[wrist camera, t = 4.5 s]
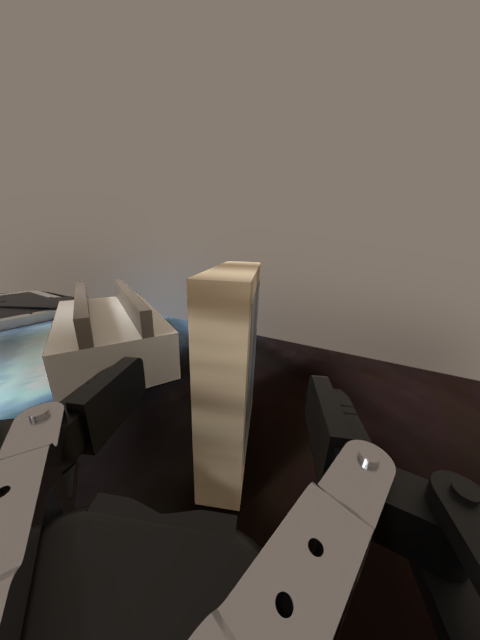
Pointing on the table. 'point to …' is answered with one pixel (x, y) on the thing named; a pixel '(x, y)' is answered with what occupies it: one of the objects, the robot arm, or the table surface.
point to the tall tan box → (222, 377)
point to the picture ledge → (108, 339)
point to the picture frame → (27, 308)
